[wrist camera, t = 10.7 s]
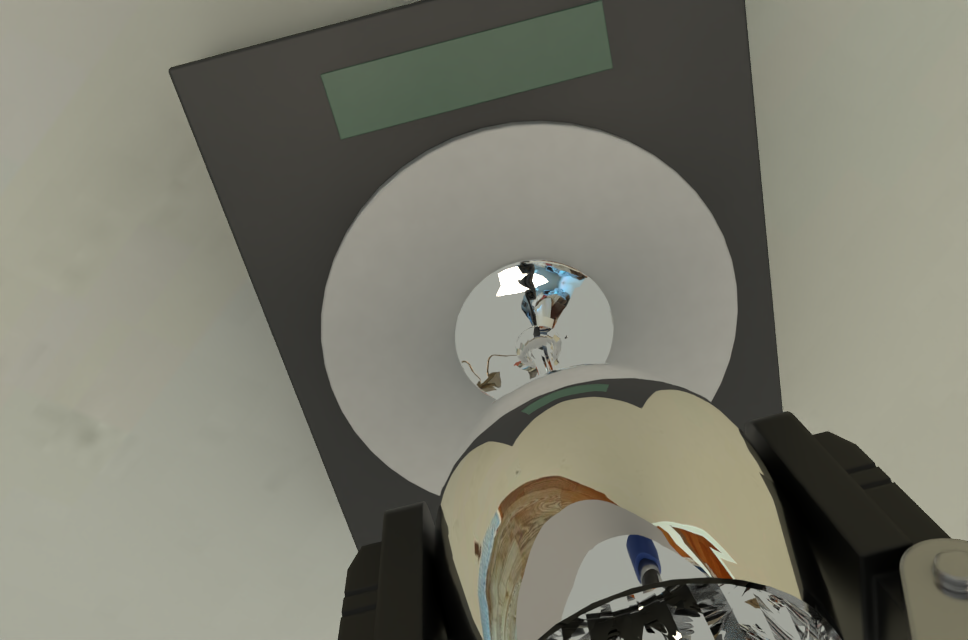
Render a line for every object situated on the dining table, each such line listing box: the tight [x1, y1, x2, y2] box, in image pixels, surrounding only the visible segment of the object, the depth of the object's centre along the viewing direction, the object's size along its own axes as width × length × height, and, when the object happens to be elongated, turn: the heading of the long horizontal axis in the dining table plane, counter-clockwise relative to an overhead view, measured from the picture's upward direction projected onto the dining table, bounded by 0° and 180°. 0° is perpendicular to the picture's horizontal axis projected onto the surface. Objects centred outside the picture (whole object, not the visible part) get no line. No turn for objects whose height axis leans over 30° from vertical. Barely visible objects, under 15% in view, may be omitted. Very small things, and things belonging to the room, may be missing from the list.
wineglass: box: [434, 258, 844, 640], centre depth 14 cm, size 6×6×12 cm
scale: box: [169, 0, 783, 552], centre depth 21 cm, size 16×14×4 cm
